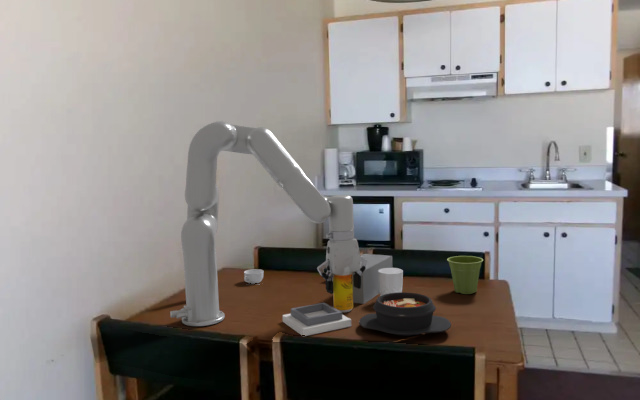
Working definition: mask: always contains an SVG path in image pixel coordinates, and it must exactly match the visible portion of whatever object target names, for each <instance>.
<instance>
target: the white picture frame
mask: <svg viewBox="0 0 640 400" xmlns="http://www.w3.org/2000/svg"><path fill="white" fill-rule="evenodd" d="M282 323H284V324H285V325H286V326H288V327H290V328H291V329H292V330H294V331H295V332H296V333H298V334H300V335H301V336H302V335H305V336H304V337H307V336H312V335H317V334H321V333H325V332H331V331H336V330H340V329H345V328H349V327H352V319H351V318H350V317H347V316H346V315H344V314H343V312H341V311H339V310H337V309H335V308H334V306H332V305H330V304H328V303H326V302H319V303H314V304H308V305H304V306H303V305H302V306H297V307H292V308H290V313H285V314H282Z"/></svg>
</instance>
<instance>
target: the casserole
mask: <svg viewBox="0 0 640 400" xmlns="http://www.w3.org/2000/svg"><path fill="white" fill-rule="evenodd" d="M372 309H373V310H374V311H375V312H374V313H367V314H365V315H364V316H362V317H361V318H360V319H359V321H358V323H359V326H361V327H362V328H364V329H369V330H374V331H379V332H383V333H386V334H390V335H395V336H401V337H403V336H404V337H406V336H407V337H409V336H418V335H423V334H436V333H443V332H446V331H449V329H450V328H451V327H452V323H451V321H450V320H448V319H447V318H446V317H444V316H439V315H434V312H435V311H436V309H437V308H436V305H434V302H433V300H432V298H431V297H429V296H427V295H425V294H421V293H417V292H416V293H415V292H403V291H402V292H400V293H389V294H385V295H382V296H378V297H377V298H376V300H375V303H374V304H373V306H372Z"/></svg>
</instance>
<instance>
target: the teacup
mask: <svg viewBox="0 0 640 400" xmlns="http://www.w3.org/2000/svg"><path fill="white" fill-rule="evenodd" d="M263 279H264V270H263V269H258V268H257V269H256V268H255V269H253V268H251V269H247V270H244V271H243V281H244V282H246V283H248V284H250V283H251V284H250V285H254V284H255V283H257V284H259V283H260V284H261V282H262V280H263ZM255 285H256V284H255Z"/></svg>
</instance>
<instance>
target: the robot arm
mask: <svg viewBox="0 0 640 400" xmlns="http://www.w3.org/2000/svg"><path fill="white" fill-rule="evenodd" d="M222 151H223V152H231V153H236V154H237V153H238V154H245V155H252V156H254V158H255V159H256V160H257V161H258V163H259V164H260V165H261V167H263V168H264V169H265V171H266V172H267V173H268V175H269V176H270V177H271V178H272V179H273V181H275V183H276V185H278V186H279V188H281V189H282V190H283V191H284V192H285V193H286V194H287V195H288V196H289V198H291V200H292V201H293V202H294V203H295V205H296V206H297V207H298V208H299V209H300V211H301V212H302V213H303V215H304V216H305V217H306V218H307V219H308V220H309V221H310V222H311V223H314V224H322V223H324V222H326V221H327V220H328V228H329V230H328V233H326V234H325V238H326V239H329V240H328V241H327V245H326V252H325V253H326V255H325V261H324V262H322V263H321V264H319V265H318V266H317V268H316V269H317V272H318V273H319V275H320V276H321V278H322V279H323V280H325V290H326V292H327V293H328V294H331V295H333V293H334V292H333V281H332V278H333V276H334V275H335V274H336V275H339V274H343V273H344V268H346V267H347V266H348V267H350V272H354V273H355V274H354V275H353V280H354V287H356V288H358V289H360V288H361V276H362V274H363V272H364V270H365V267H366V265H367V262H368V261H367V260H366V259H363V258H361V257H360V256H361V254H360V248H359V242H358V240H357V238H355V227H354V226H355V225H354V224H355V223H354V201H353V199H354V198H353V197H352V196H350V195H347V194H346V195H345V194H337V195H335V194H334V195H331V196H329V195H322V194H321V192H320V191H319V190H318V188H317V187H316V186H315V184H313V183H312V181H311V180H310V179H309V178H308V176H307V175H306V173H305V172H304V170H303V168H301V167H300V165H299V163H298V162H296V160H295V159H294V158H293V156H292V155H291V154H290V153H289V152H288V150H286V148H285V147H284V145H283V144H282V143H281V142H280V140H278V138H277V137H276V136H275V135H274V134H273V132H272V131H271V130H270V129H268V128H266V127H250V126H244V125H237V124H232V123H229V122H227V121H223V120H221V121H220V120H219V121H218V120H217V121H213V122H211V123H208V124H206V125H204V126H203V127H202V128H200V129H199V130H198V131H197V132H196V133H195V134H194V135H193V137H192V139H191V141H190V144H189V147H188V151H187V152H188V153H187V154H188V155H187V163H186V164H187V166H186V174H185V175H186V177H185V191H184V200H185V202H186V204H187V212H186V214H187V216H186V220H185V222H184V223H183V225H182V227H181V233H180V240H181V242H180V243H181V249H182V257H183V270H184V287H185V291H184V292H185V301H186V302H185V303H186V304H185V305H183V307H182V308H180V309H179V310H175V309H174V310H170V312H169V313H170V314H169V315H170V318H172V319H173V318H176V319H181V323H182V324H184V326H185V325H186V326H188V327H205V326H212V325H214V324H218V323H221V322H222V321H223V320H224V319H225V317H226V316H225V313H224V312H223V311H222V310H220V302H219V281H218V265H217V250H216V249H217V248H216V247H217V246H216V234H217V231H218V225H219V224H218V223H219V222H218V220H219V205H220V203H219V202H220V191H219V187H218V185H217V169H218V156H219V154H220V153H221V152H222ZM325 269H326V272H325Z"/></svg>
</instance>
